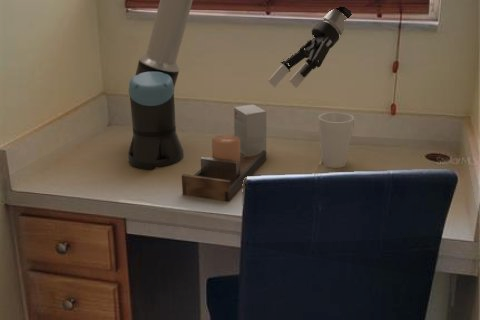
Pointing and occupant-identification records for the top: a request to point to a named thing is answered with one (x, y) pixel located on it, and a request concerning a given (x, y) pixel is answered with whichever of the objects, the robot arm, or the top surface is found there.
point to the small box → (250, 129)
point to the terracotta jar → (226, 148)
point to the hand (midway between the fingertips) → (281, 84)
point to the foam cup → (335, 137)
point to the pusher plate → (219, 168)
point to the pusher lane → (221, 181)
